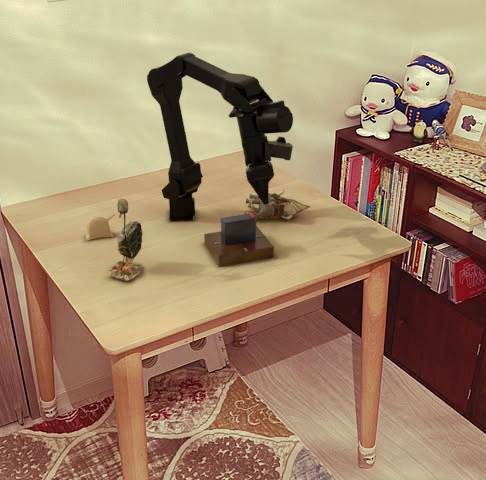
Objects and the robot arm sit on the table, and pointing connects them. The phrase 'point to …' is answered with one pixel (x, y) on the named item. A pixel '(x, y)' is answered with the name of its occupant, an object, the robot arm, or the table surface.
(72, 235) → the table surface
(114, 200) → the table surface
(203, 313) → the table surface
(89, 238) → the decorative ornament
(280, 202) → the figurine
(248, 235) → the blue block
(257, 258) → the brown slab
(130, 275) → the plant with pod
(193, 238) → the table surface
